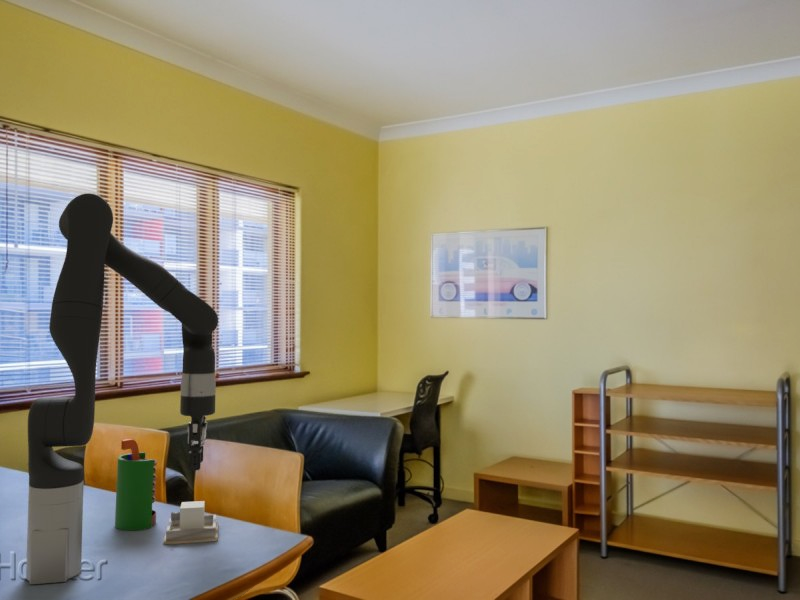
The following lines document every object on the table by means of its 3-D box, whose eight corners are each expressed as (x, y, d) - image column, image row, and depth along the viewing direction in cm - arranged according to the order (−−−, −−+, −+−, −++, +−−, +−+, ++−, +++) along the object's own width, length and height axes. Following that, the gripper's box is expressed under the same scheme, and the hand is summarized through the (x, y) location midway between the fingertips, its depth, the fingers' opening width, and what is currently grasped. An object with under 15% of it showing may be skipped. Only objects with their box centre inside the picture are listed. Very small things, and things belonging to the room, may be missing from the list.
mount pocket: (217, 540, 143) (217, 528, 143) (163, 544, 140) (163, 532, 140) (218, 524, 154) (218, 513, 154) (167, 527, 151) (167, 516, 151)
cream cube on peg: (203, 534, 145) (203, 507, 146) (169, 536, 144) (170, 509, 144) (204, 527, 150) (204, 500, 150) (171, 529, 148) (172, 502, 149)
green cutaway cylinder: (164, 524, 153) (166, 439, 154) (126, 533, 147) (129, 444, 147) (144, 515, 160) (146, 433, 161) (107, 523, 154) (109, 437, 154)
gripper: (213, 396, 141) (212, 472, 141) (217, 390, 155) (215, 459, 155) (177, 396, 140) (175, 473, 139) (183, 390, 154) (182, 460, 153)
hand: (196, 466), depth 147 cm, fingers open, 8 cm apart
